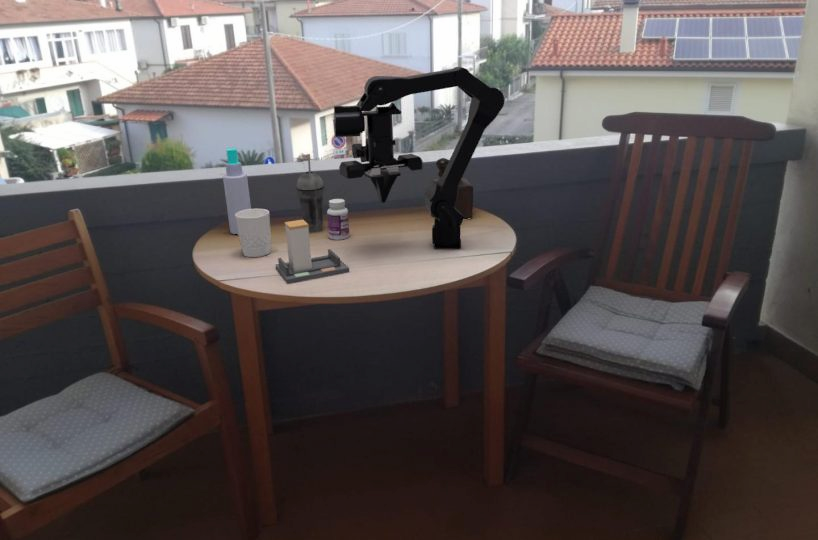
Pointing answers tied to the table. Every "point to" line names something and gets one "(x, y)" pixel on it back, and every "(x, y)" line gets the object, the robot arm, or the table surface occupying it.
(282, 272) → the switch board
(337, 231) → the pill bottle
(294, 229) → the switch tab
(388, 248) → the table surface
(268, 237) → the white cup
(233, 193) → the spray bottle
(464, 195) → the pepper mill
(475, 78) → the robot arm
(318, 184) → the beverage cup
